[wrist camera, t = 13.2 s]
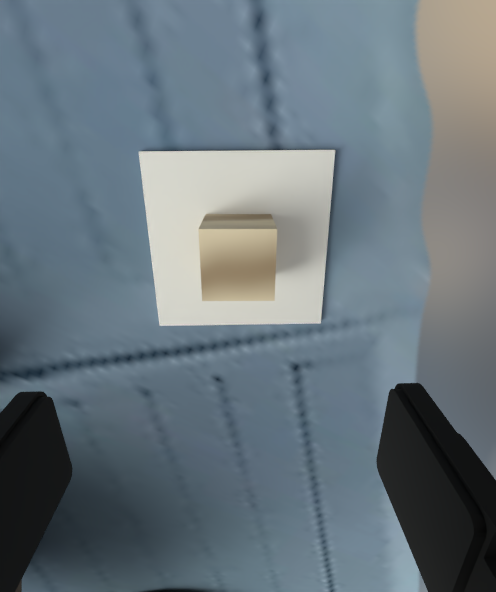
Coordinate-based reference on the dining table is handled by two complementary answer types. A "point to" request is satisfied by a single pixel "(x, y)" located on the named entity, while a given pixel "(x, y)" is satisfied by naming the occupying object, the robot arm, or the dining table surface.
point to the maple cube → (238, 257)
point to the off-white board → (238, 200)
